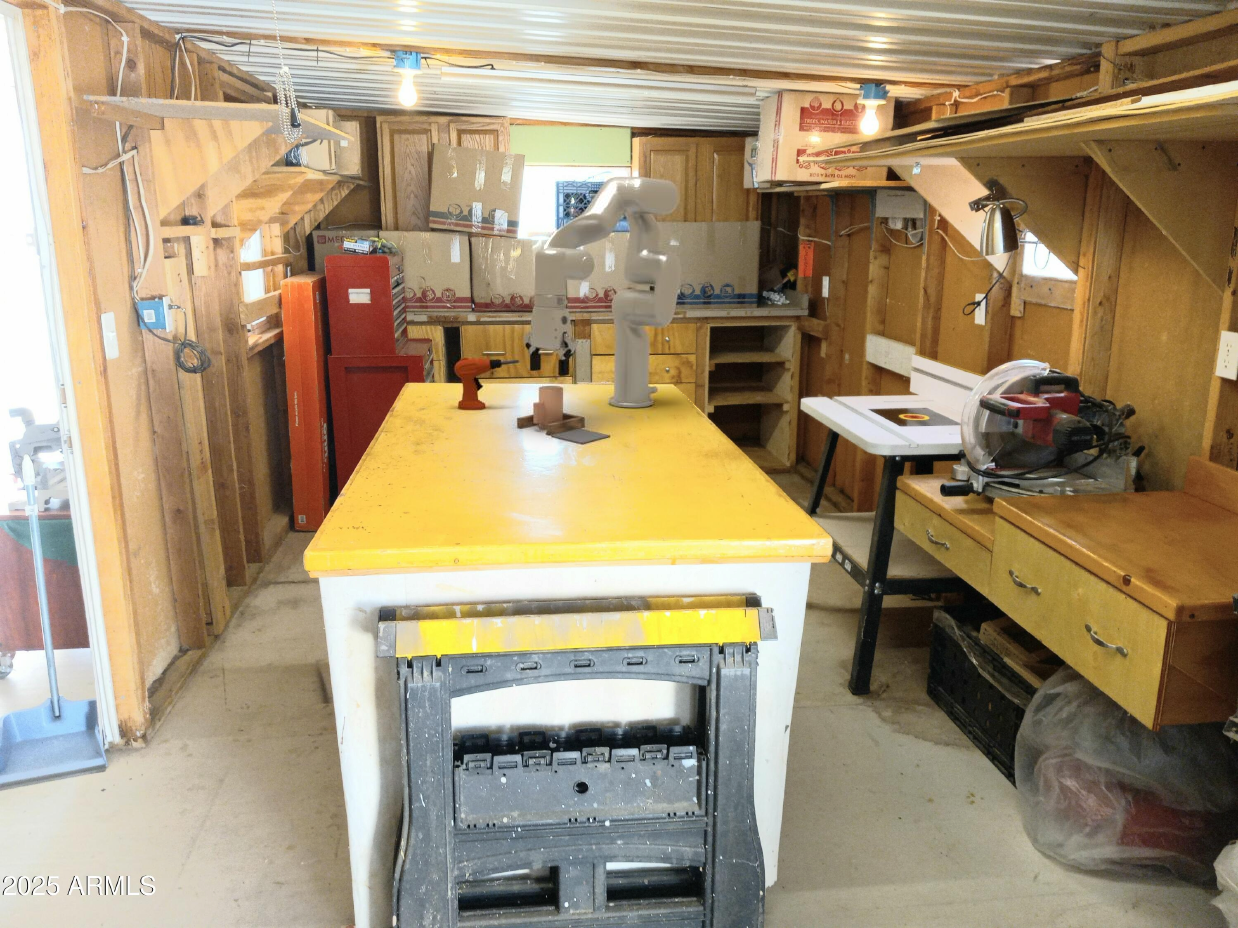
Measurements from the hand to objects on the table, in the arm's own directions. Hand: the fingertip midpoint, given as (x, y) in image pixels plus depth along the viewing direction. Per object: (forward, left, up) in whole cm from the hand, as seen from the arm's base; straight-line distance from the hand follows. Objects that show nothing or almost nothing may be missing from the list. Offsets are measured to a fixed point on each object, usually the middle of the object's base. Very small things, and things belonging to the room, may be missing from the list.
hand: (549, 372), depth 225 cm
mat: (+1, +12, -14) cm, 18 cm away
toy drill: (-5, -28, -14) cm, 32 cm away
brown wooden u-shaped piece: (-1, 0, -14) cm, 14 cm away
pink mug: (+1, 0, -14) cm, 14 cm away
